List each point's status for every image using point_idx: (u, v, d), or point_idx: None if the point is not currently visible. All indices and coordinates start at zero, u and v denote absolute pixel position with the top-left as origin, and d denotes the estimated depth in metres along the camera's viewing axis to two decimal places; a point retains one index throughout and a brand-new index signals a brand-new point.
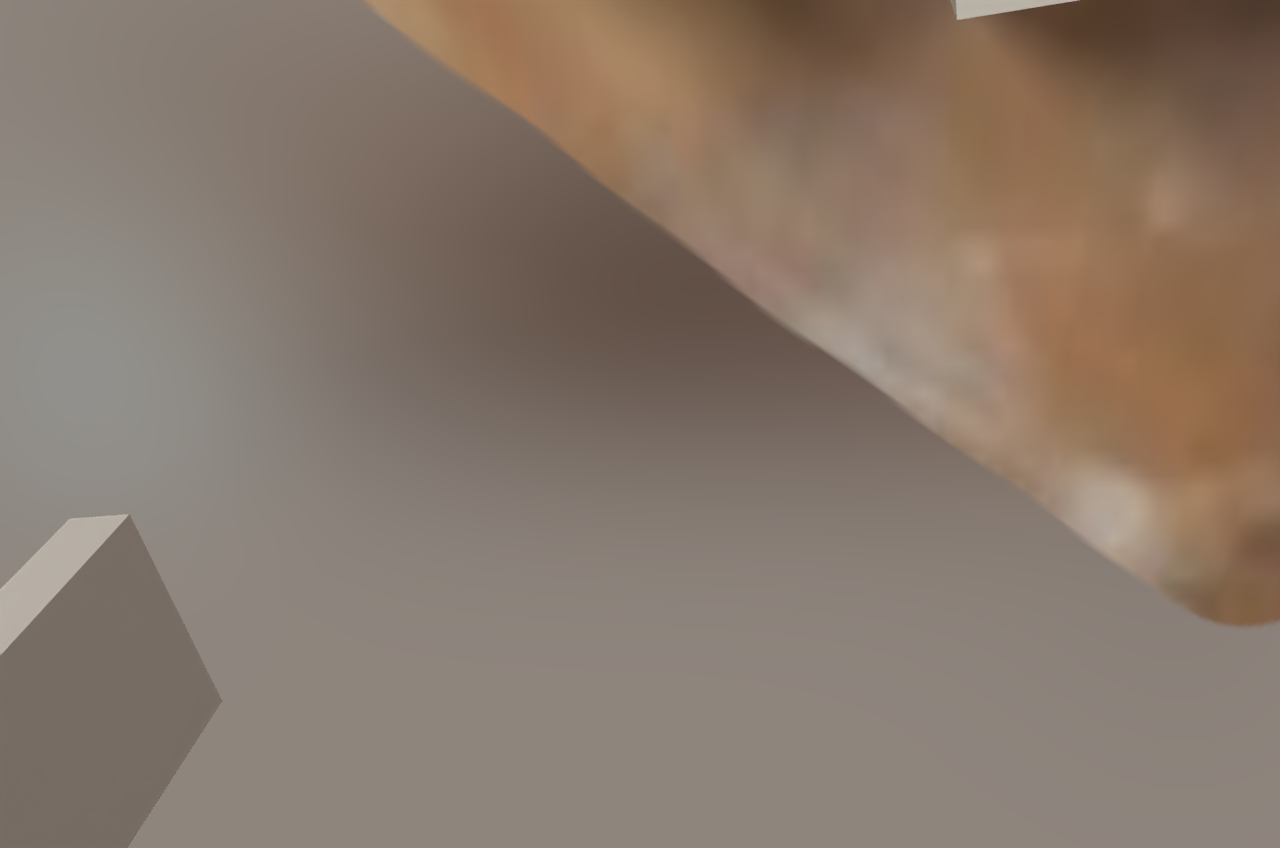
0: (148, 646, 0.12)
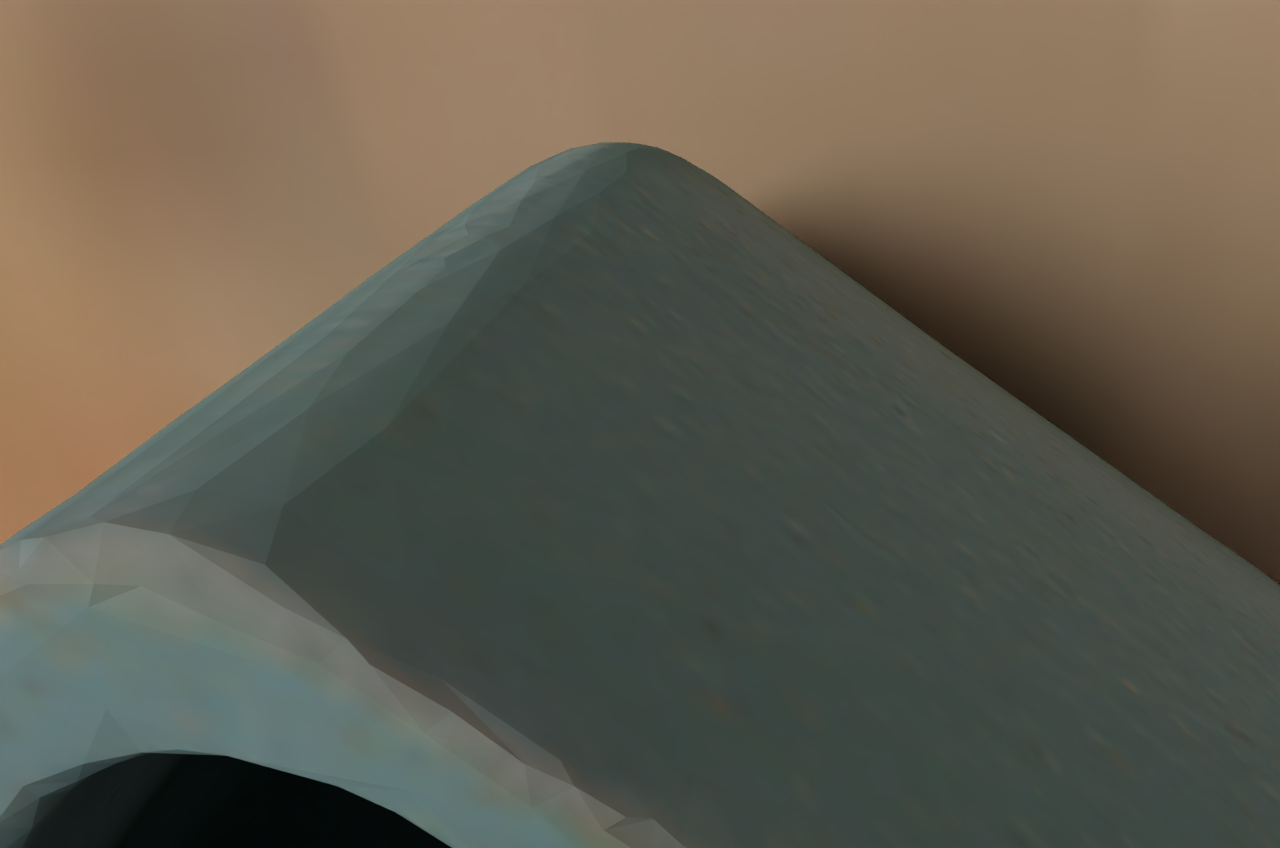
0: None
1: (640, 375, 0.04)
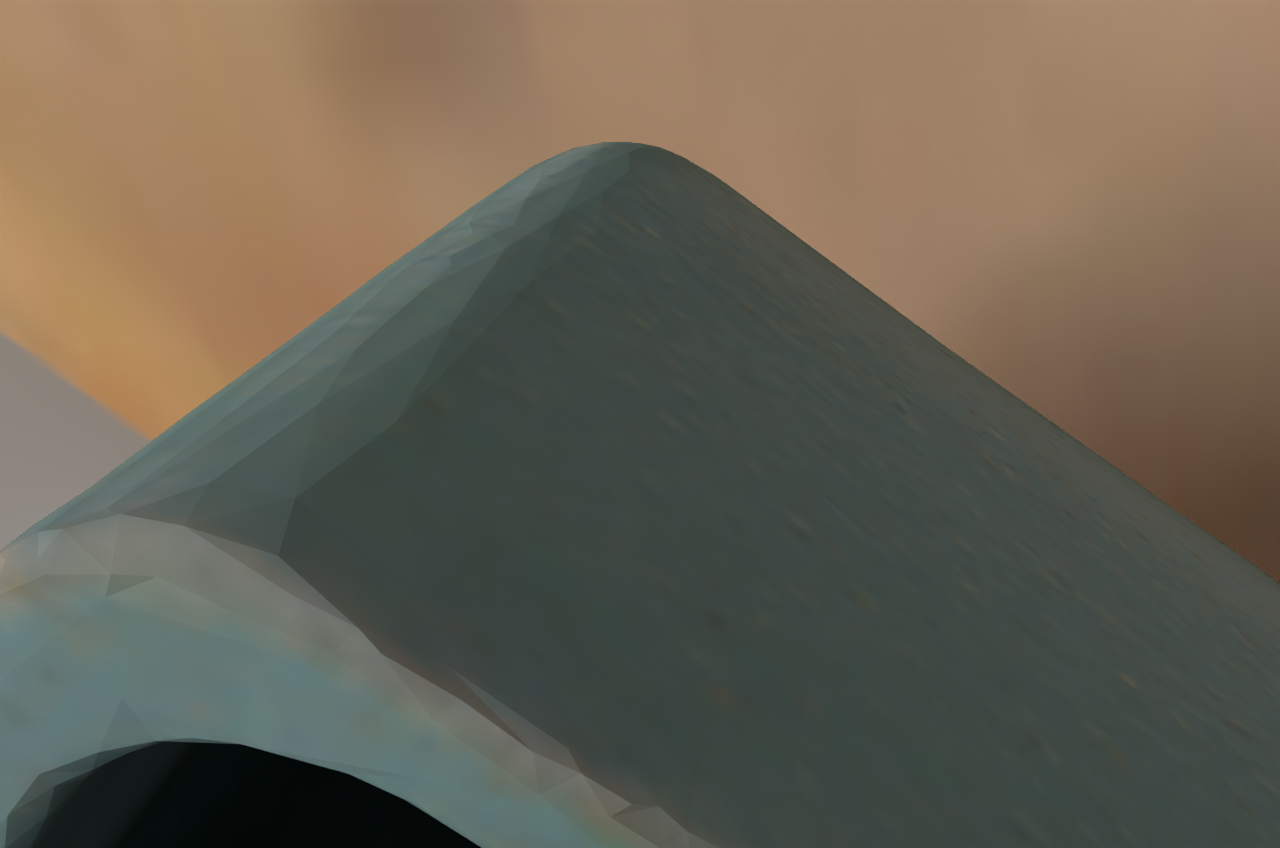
0: None
1: (643, 372, 0.04)
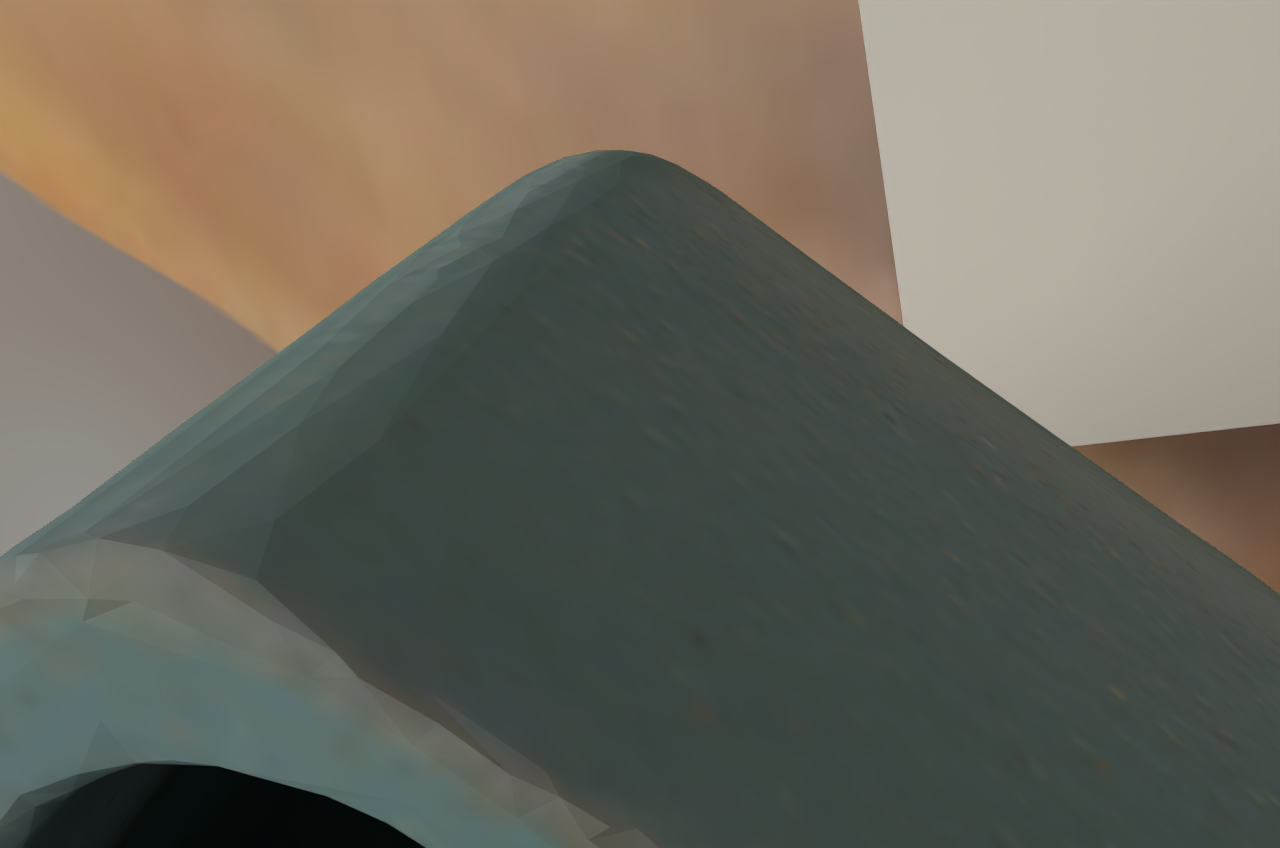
0: None
1: (630, 385, 0.04)
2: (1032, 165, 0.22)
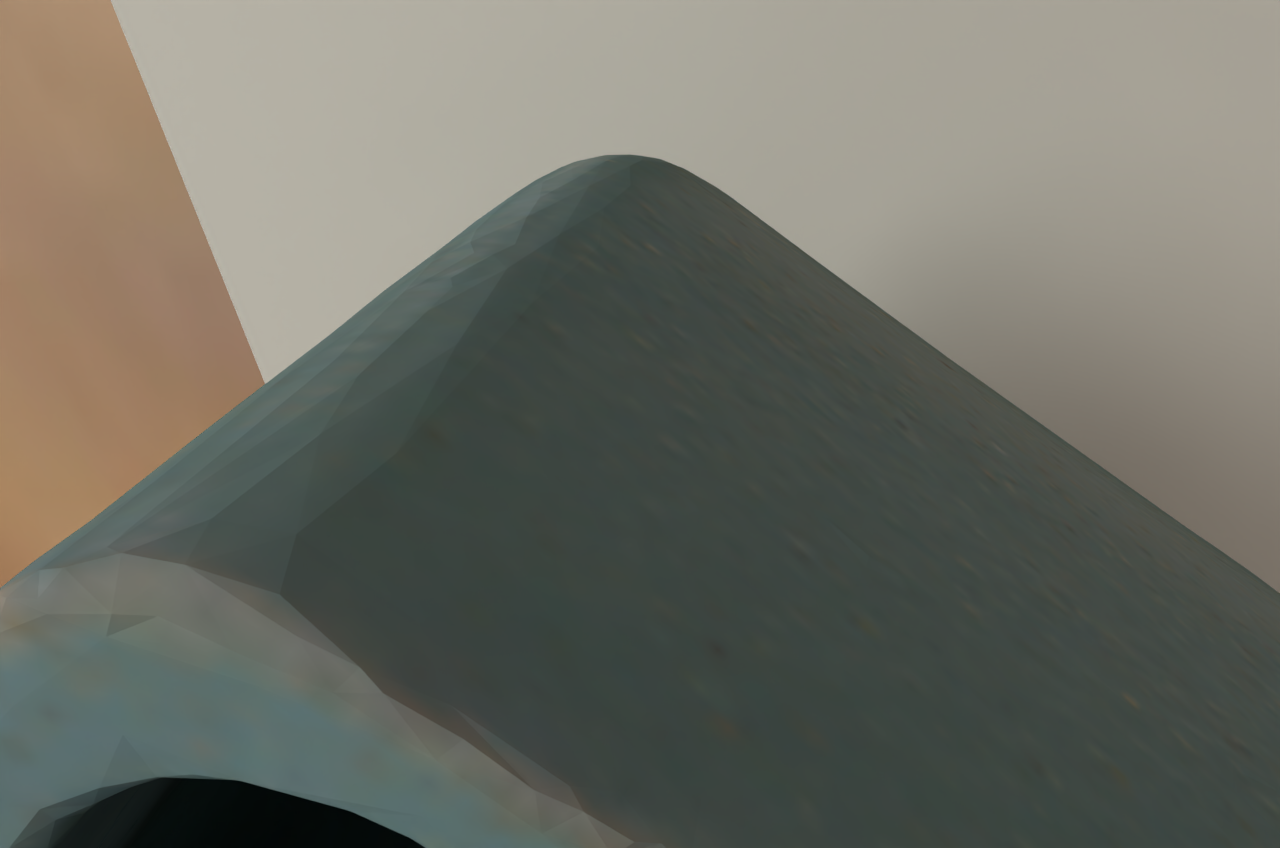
0: None
1: (645, 394, 0.04)
2: None
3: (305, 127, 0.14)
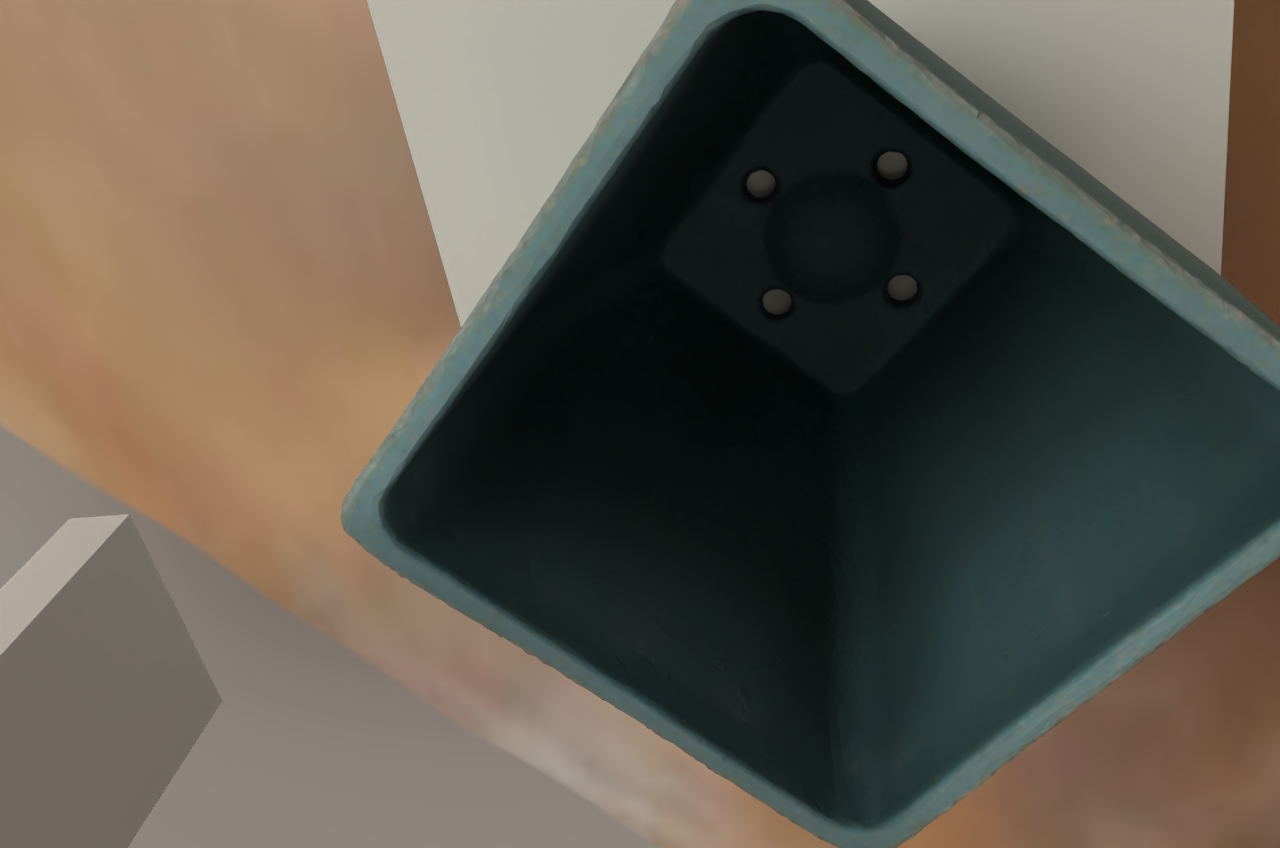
0: (149, 646, 0.12)
1: None
2: None
3: (484, 50, 0.20)
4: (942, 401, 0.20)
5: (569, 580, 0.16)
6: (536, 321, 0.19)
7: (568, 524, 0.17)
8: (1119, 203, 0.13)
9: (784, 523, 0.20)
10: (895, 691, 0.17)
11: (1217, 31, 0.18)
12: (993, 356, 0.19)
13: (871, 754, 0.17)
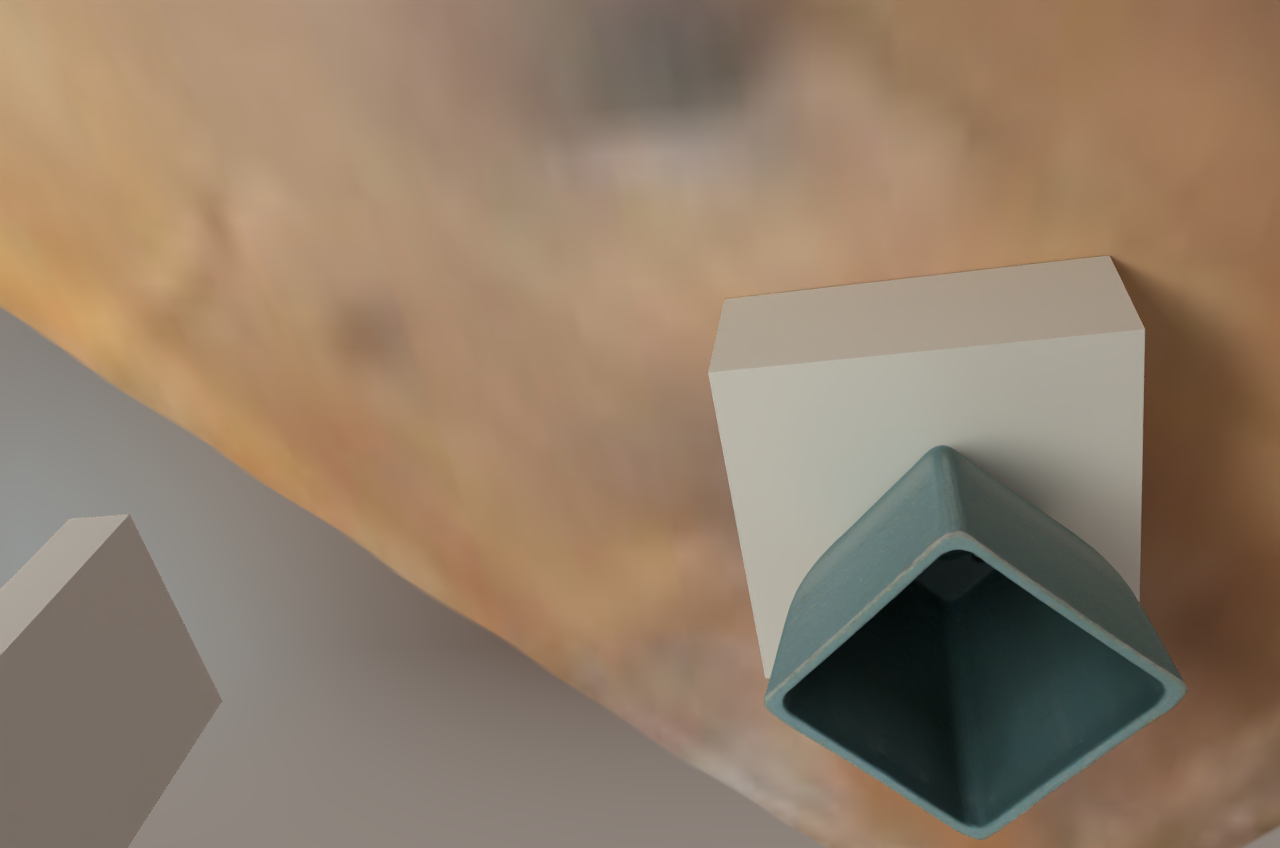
0: (148, 646, 0.12)
1: (978, 511, 0.33)
2: (815, 544, 0.43)
3: (774, 440, 0.41)
4: (1003, 614, 0.41)
5: (847, 720, 0.36)
6: None
7: (841, 691, 0.37)
8: (1085, 590, 0.33)
9: (926, 676, 0.40)
10: (987, 764, 0.38)
11: (1135, 450, 0.39)
12: (1029, 596, 0.40)
13: (978, 793, 0.37)
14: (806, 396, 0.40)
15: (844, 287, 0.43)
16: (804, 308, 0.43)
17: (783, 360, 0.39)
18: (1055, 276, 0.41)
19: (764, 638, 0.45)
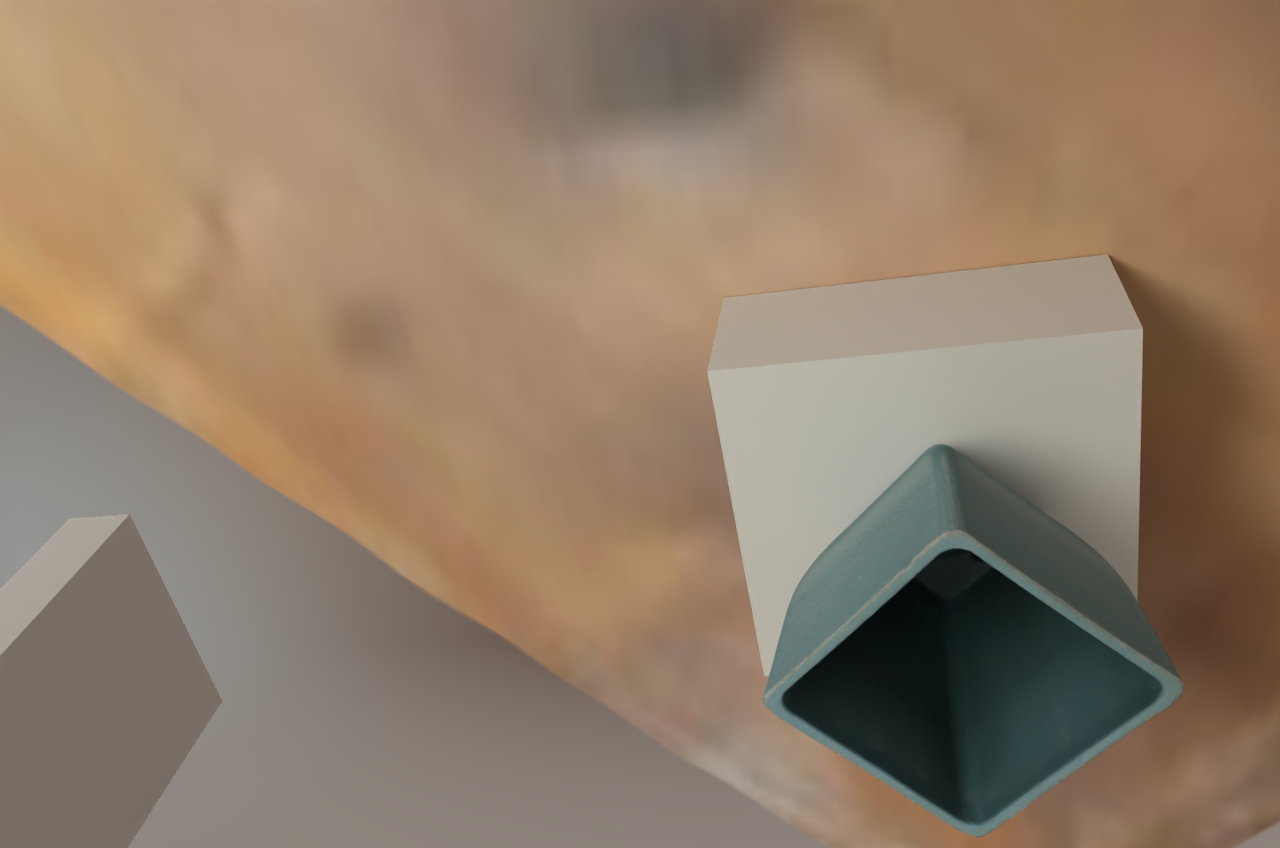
0: (148, 646, 0.12)
1: (976, 510, 0.33)
2: (814, 542, 0.43)
3: (773, 439, 0.41)
4: (1001, 612, 0.41)
5: (846, 717, 0.37)
6: None
7: (840, 689, 0.37)
8: (1083, 588, 0.33)
9: (924, 674, 0.40)
10: (985, 761, 0.38)
11: (1133, 449, 0.39)
12: (1027, 594, 0.40)
13: (976, 791, 0.37)
14: (805, 395, 0.40)
15: (843, 286, 0.44)
16: (802, 307, 0.43)
17: (782, 359, 0.39)
18: (1053, 275, 0.41)
19: (763, 636, 0.45)
